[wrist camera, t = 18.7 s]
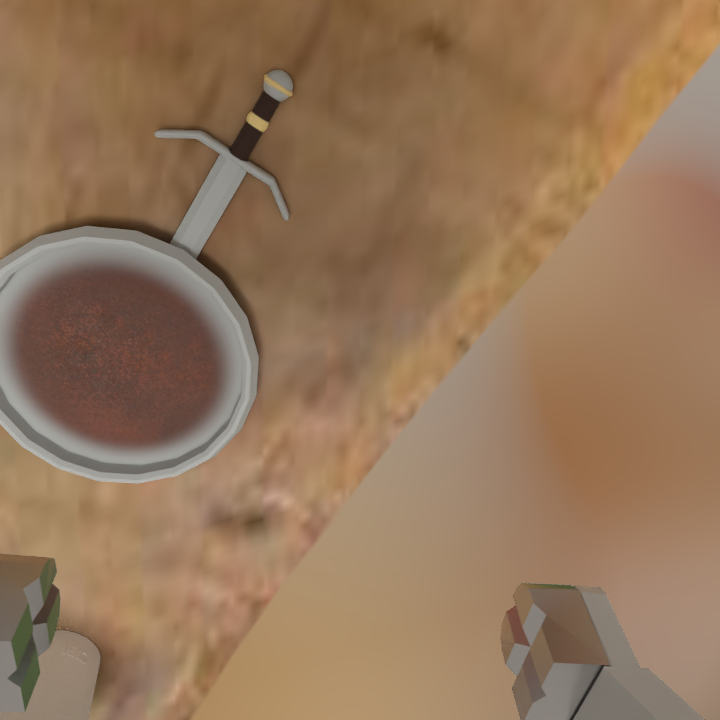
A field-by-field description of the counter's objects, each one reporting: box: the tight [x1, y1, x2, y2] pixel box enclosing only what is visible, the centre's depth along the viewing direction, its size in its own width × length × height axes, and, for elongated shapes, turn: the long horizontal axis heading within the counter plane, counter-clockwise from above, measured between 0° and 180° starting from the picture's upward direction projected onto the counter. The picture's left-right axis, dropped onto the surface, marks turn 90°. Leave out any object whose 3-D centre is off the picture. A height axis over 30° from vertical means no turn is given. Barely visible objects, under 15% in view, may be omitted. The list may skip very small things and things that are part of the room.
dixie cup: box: [0, 630, 100, 720], centre depth 47 cm, size 8×8×10 cm
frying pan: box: [0, 70, 293, 483], centre depth 38 cm, size 17×3×28 cm
